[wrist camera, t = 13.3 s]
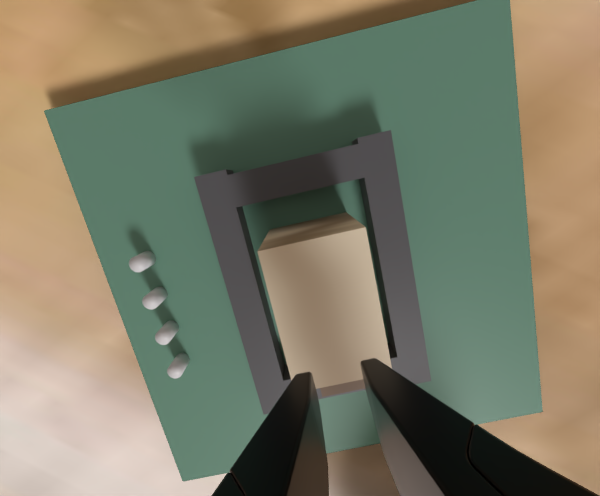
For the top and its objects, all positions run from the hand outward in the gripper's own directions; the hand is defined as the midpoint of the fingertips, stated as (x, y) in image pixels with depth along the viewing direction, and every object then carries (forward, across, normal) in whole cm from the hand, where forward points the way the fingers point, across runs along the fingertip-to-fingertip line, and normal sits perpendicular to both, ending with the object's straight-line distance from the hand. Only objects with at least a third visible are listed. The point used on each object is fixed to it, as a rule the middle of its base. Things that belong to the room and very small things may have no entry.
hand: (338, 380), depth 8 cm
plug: (+9, 0, 0) cm, 9 cm away
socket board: (+10, 0, 0) cm, 10 cm away
